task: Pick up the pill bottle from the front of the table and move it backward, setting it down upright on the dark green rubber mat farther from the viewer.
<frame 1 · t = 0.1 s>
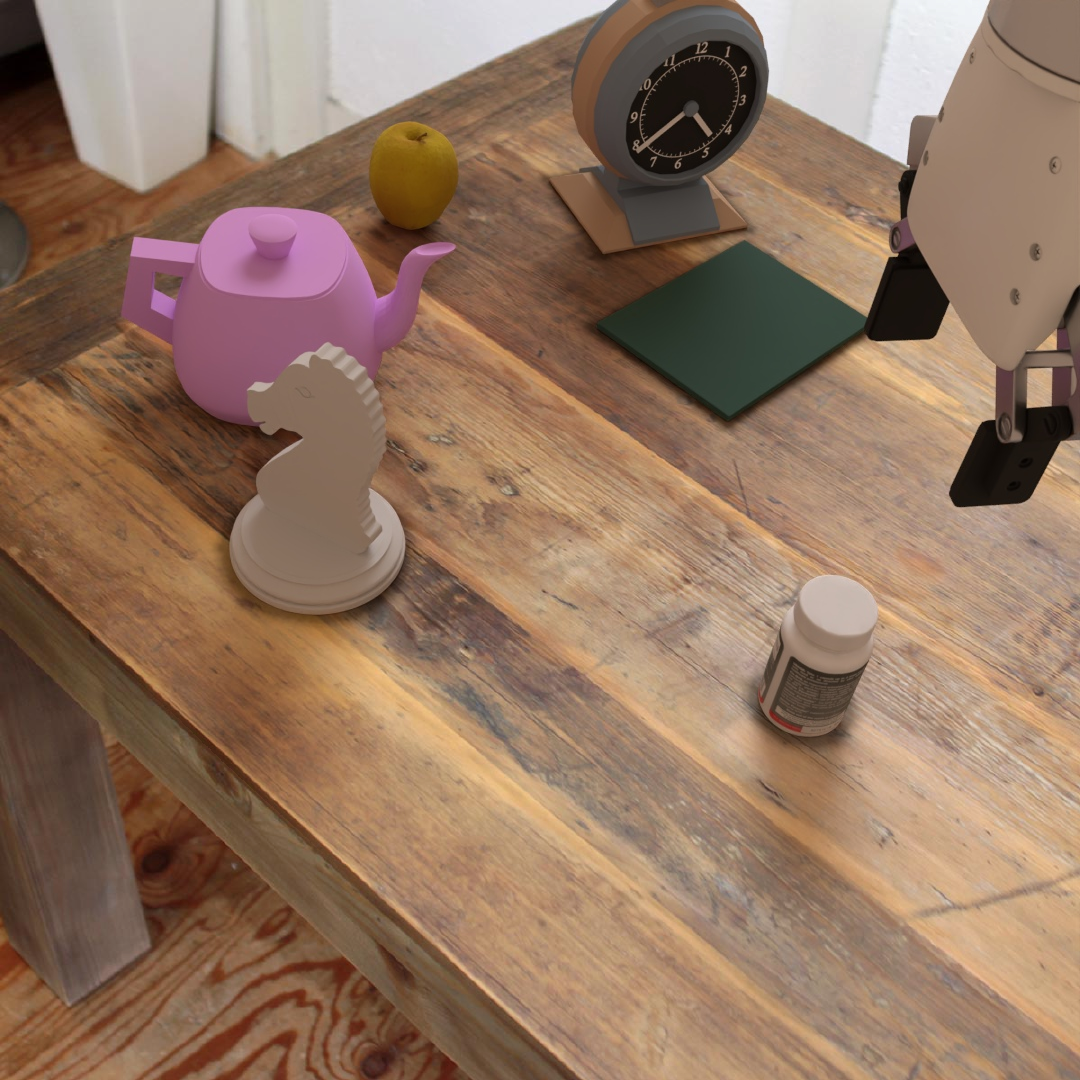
hand: (940, 413, 54), 23 cm above the table, tool pointing down, fingers open, 9 cm apart
pill bottle: (798, 704, 72), on the table
teapot: (291, 373, 86), on the table
chess piece: (318, 550, 76), on the table
apple: (411, 222, 98), on the table
alarm clock: (647, 206, 103), on the table
mat: (735, 327, 93), on the table
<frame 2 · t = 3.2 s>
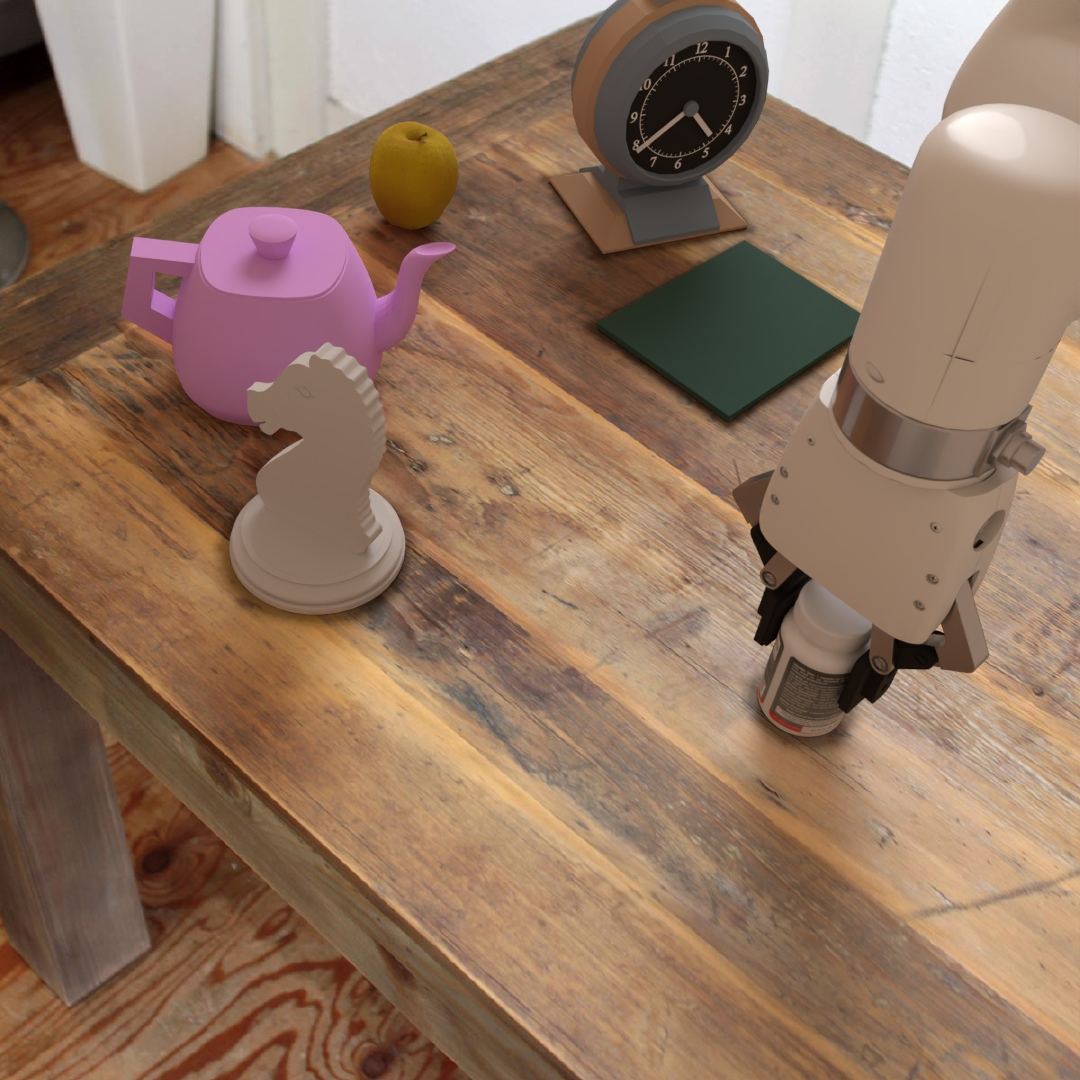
hand: (817, 660, 69), 4 cm above the table, tool pointing down, fingers closed on pill bottle, 4 cm apart
pill bottle: (798, 704, 72), on the table, touching gripper
everything else where it was.
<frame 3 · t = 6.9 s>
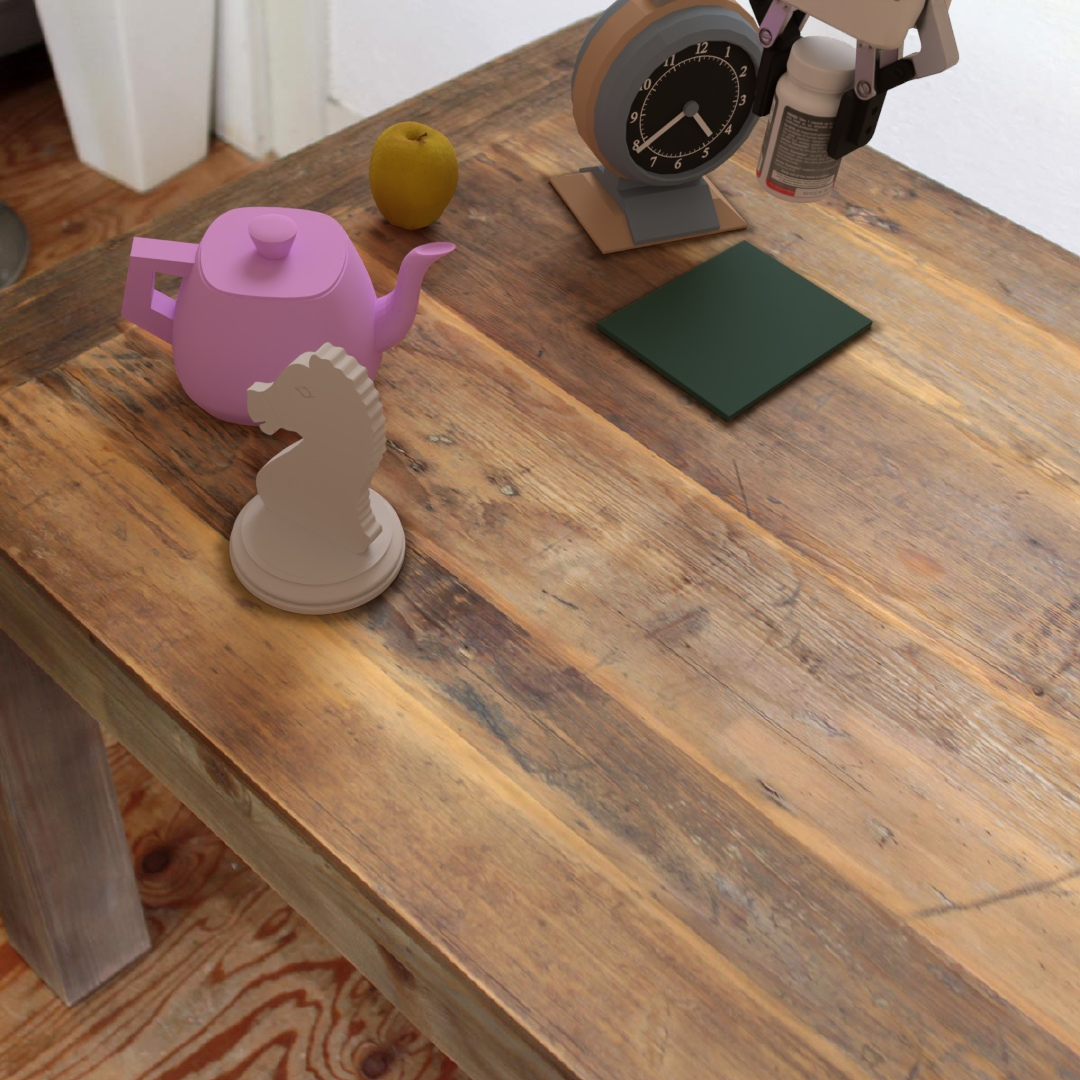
hand: (808, 126, 78), 18 cm above the table, tool pointing down, fingers closed on pill bottle, 4 cm apart
pill bottle: (792, 185, 80), point 14 cm above the table, touching gripper
everything else where it was.
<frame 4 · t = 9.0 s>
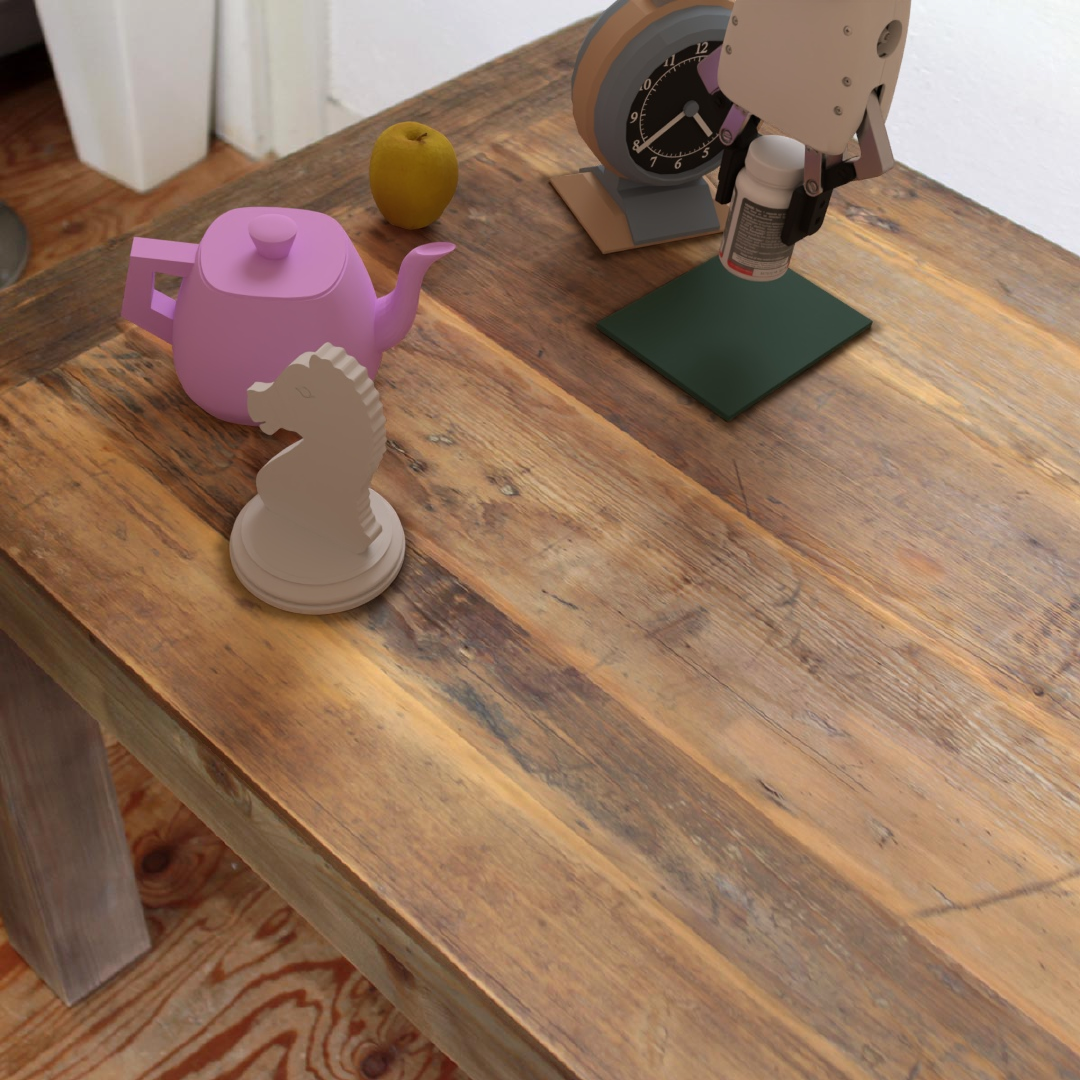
hand: (765, 214, 86), 9 cm above the table, tool pointing down, fingers closed on pill bottle, 4 cm apart
pill bottle: (752, 264, 89), point 5 cm above the table, touching gripper
everything else where it was.
when the fingers open (4 cm above the table, at t = 10.6 s): pill bottle stays where it is, resting on mat.
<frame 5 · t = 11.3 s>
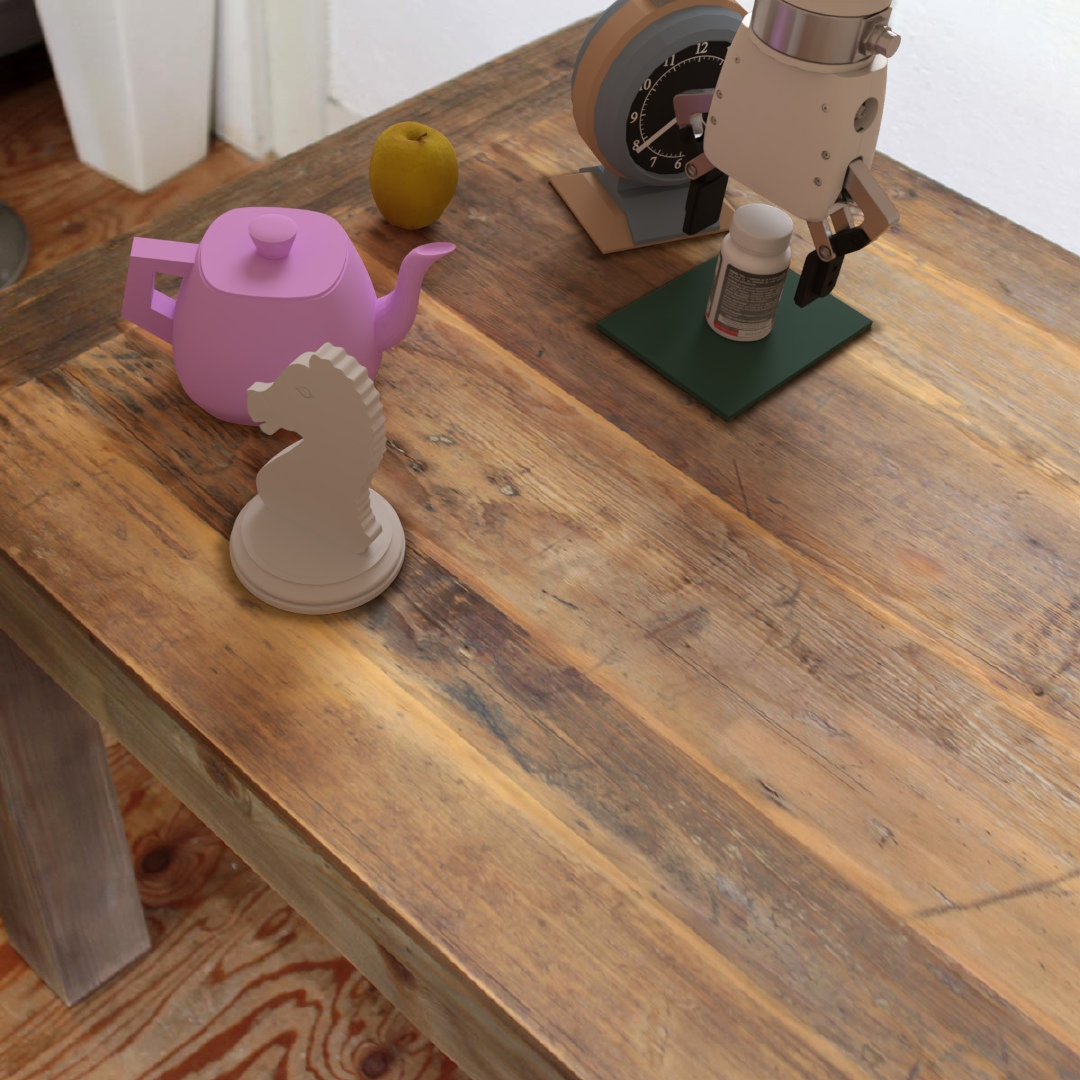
hand: (754, 261, 89), 6 cm above the table, tool pointing down, fingers open, 9 cm apart
pill bottle: (737, 324, 93), resting on mat
everything else where it was.
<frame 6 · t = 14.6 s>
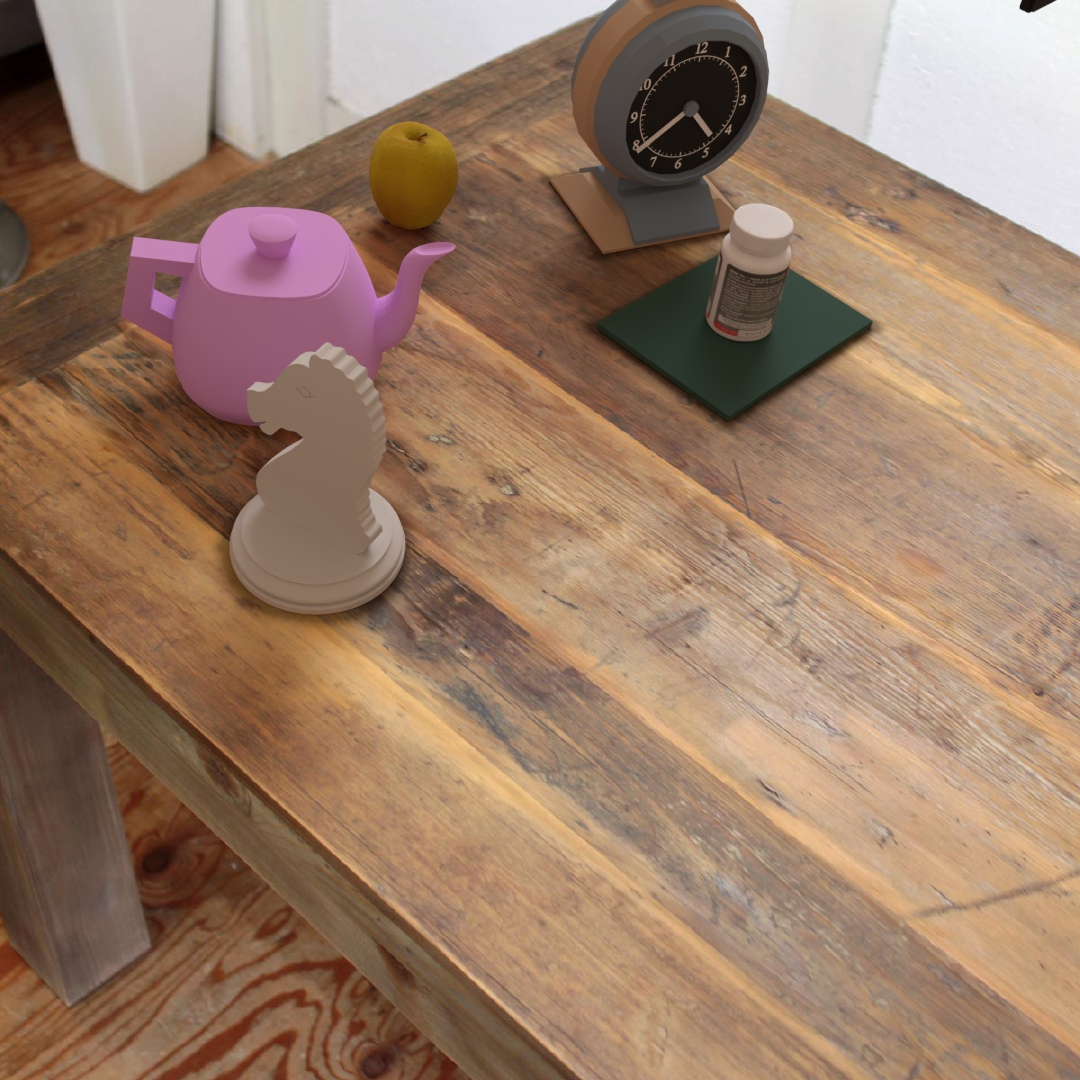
nothing on the table moved.
at the end: pill bottle inside the target area on the mat (0.1 cm from its centre), point 0.3 cm above the mat's base; pill bottle tilted 0°; pill bottle moved 31.8 cm from its start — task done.
